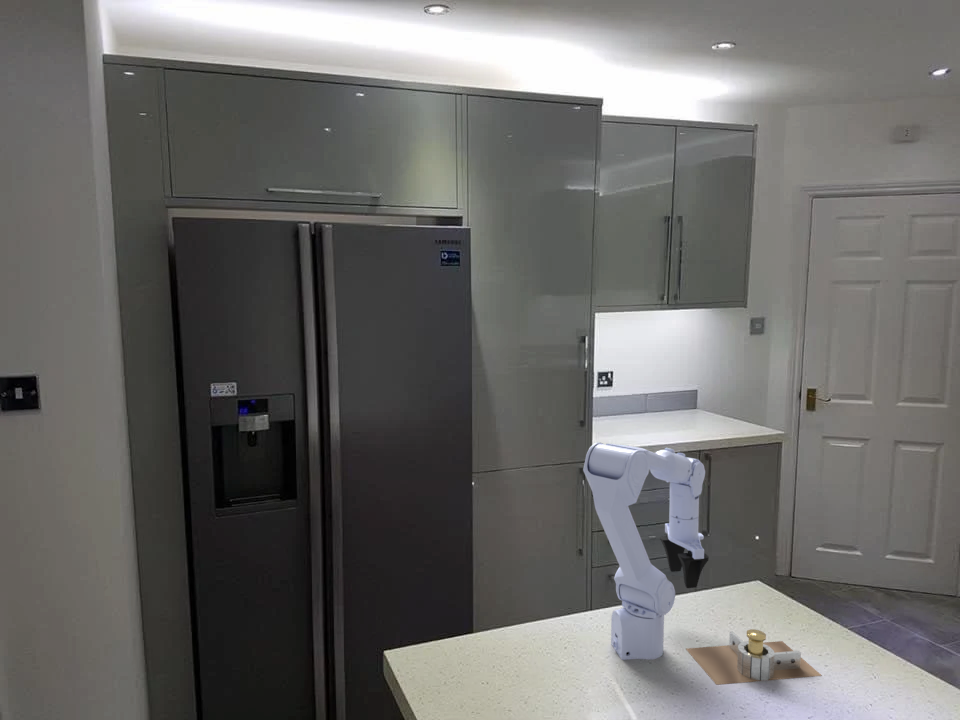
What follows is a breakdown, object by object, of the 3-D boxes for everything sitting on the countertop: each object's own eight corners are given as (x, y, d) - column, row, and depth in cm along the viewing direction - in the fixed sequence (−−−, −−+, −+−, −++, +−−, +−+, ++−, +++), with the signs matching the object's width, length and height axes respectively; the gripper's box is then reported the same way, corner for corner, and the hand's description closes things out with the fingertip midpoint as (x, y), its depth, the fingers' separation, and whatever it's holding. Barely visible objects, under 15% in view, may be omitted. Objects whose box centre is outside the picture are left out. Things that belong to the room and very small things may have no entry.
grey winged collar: (748, 681, 116) (749, 660, 116) (716, 647, 127) (716, 627, 127) (809, 676, 118) (810, 655, 117) (772, 643, 129) (772, 623, 129)
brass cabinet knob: (750, 676, 117) (752, 638, 117) (741, 666, 121) (743, 629, 120) (767, 675, 118) (769, 637, 117) (758, 666, 121) (759, 628, 120)
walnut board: (716, 690, 115) (716, 684, 115) (685, 653, 127) (685, 648, 127) (821, 680, 118) (821, 675, 118) (781, 645, 130) (782, 641, 130)
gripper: (719, 526, 128) (718, 593, 129) (687, 502, 142) (686, 562, 144) (684, 528, 127) (683, 596, 129) (655, 504, 141) (655, 565, 143)
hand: (682, 578), depth 136 cm, fingers open, 7 cm apart
